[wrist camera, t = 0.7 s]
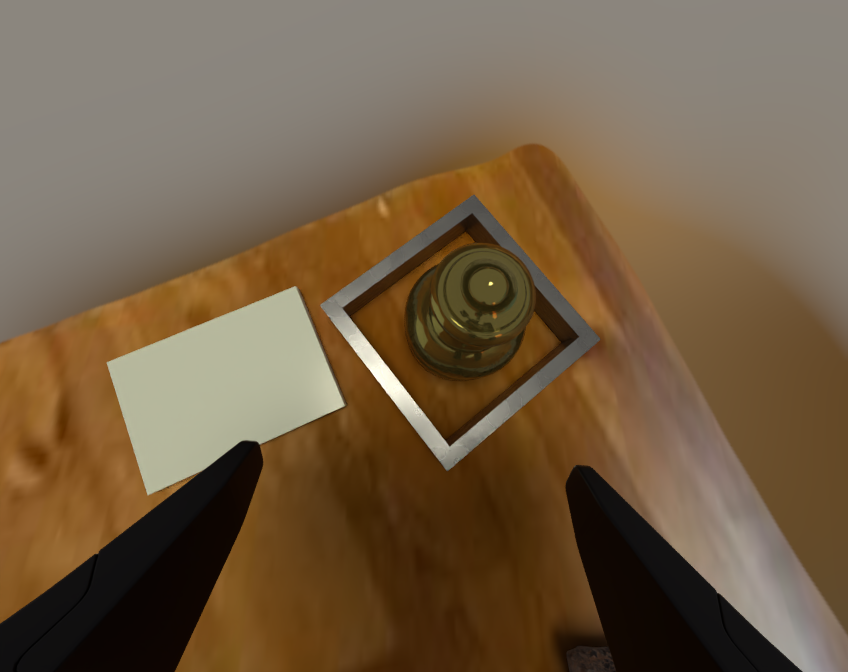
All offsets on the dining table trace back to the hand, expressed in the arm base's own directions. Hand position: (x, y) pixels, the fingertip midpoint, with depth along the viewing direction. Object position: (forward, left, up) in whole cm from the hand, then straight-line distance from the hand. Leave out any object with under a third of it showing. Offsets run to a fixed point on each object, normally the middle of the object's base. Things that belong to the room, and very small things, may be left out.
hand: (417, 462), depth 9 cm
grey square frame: (+3, -6, -13) cm, 15 cm away
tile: (+10, +8, -13) cm, 18 cm away
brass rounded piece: (+3, -6, -14) cm, 15 cm away
